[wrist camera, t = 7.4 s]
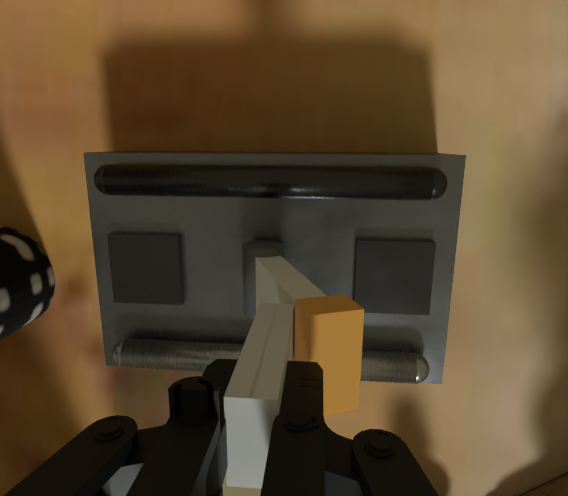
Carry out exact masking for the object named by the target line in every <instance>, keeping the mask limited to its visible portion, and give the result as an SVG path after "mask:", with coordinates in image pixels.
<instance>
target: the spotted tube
mask: <svg viewBox="0 0 568 496" xmlns="http://www.w3.org/2000/svg"><path fill="white" fill-rule="evenodd" d="M54 288H55V282H54V274H53V270H52V267H51V264H50V262H49V260H48V258H47V256H46V255H45V253H44V252H43V251H42V249H41V248H40V247H39V246H38V245H37V244H36V243H35V242H34V241H33V240H32V239H31V238H29V237H28V236H26V235H25V234H23V233H21V232H19V231H17V230H15V229H11V228H8V227H0V340H1V339H3V338H4V337H6V336H8V335H9V334H11V333H13V332H14V331H16V330H18V329H19V328H21V327H23V326H24V325H26V324H28V323H29V322H31V321H33V320H34V319H36V318H38V317H39V316H41V315H42V314H43V313H44V312H45V311H46V310H47V308H48V306H49V305H50V303H51V301H52V298H53V295H54Z"/></svg>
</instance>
